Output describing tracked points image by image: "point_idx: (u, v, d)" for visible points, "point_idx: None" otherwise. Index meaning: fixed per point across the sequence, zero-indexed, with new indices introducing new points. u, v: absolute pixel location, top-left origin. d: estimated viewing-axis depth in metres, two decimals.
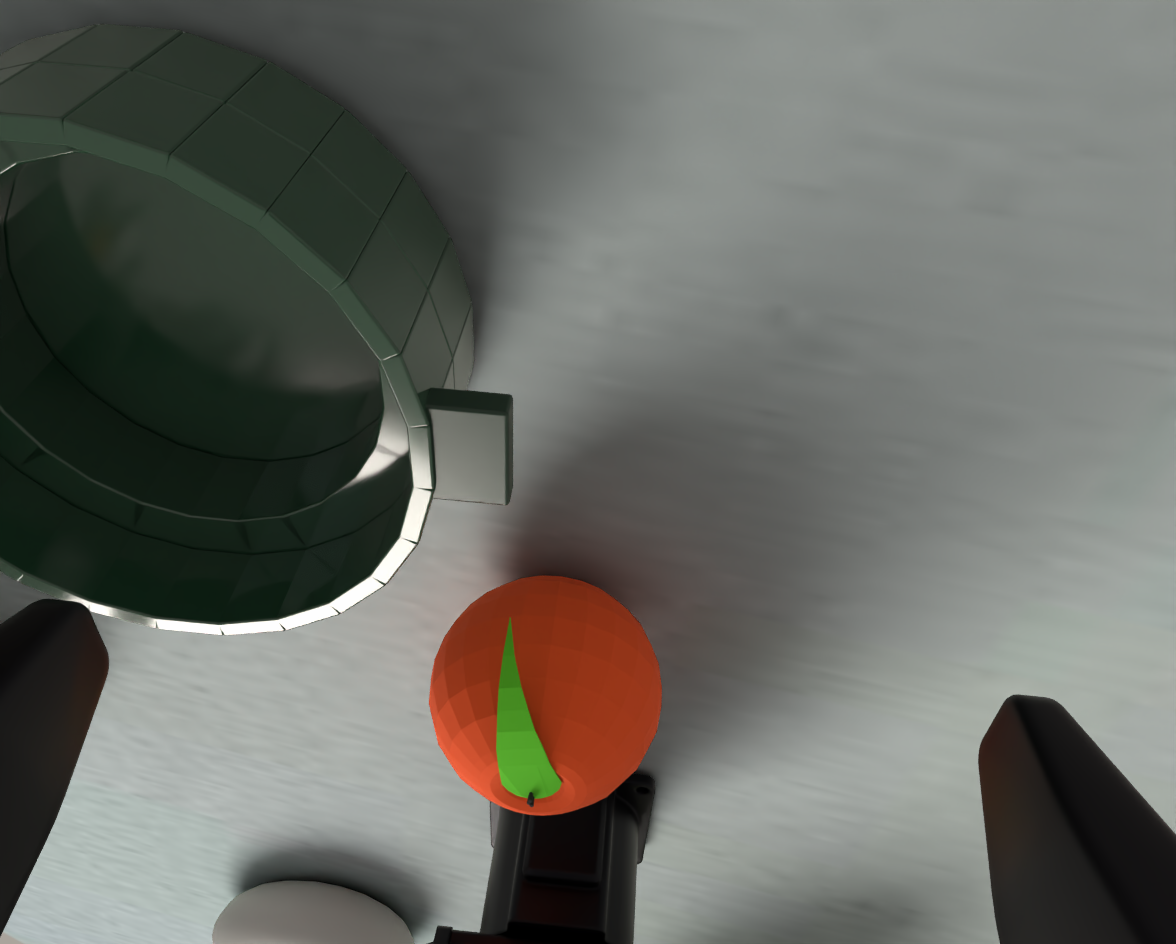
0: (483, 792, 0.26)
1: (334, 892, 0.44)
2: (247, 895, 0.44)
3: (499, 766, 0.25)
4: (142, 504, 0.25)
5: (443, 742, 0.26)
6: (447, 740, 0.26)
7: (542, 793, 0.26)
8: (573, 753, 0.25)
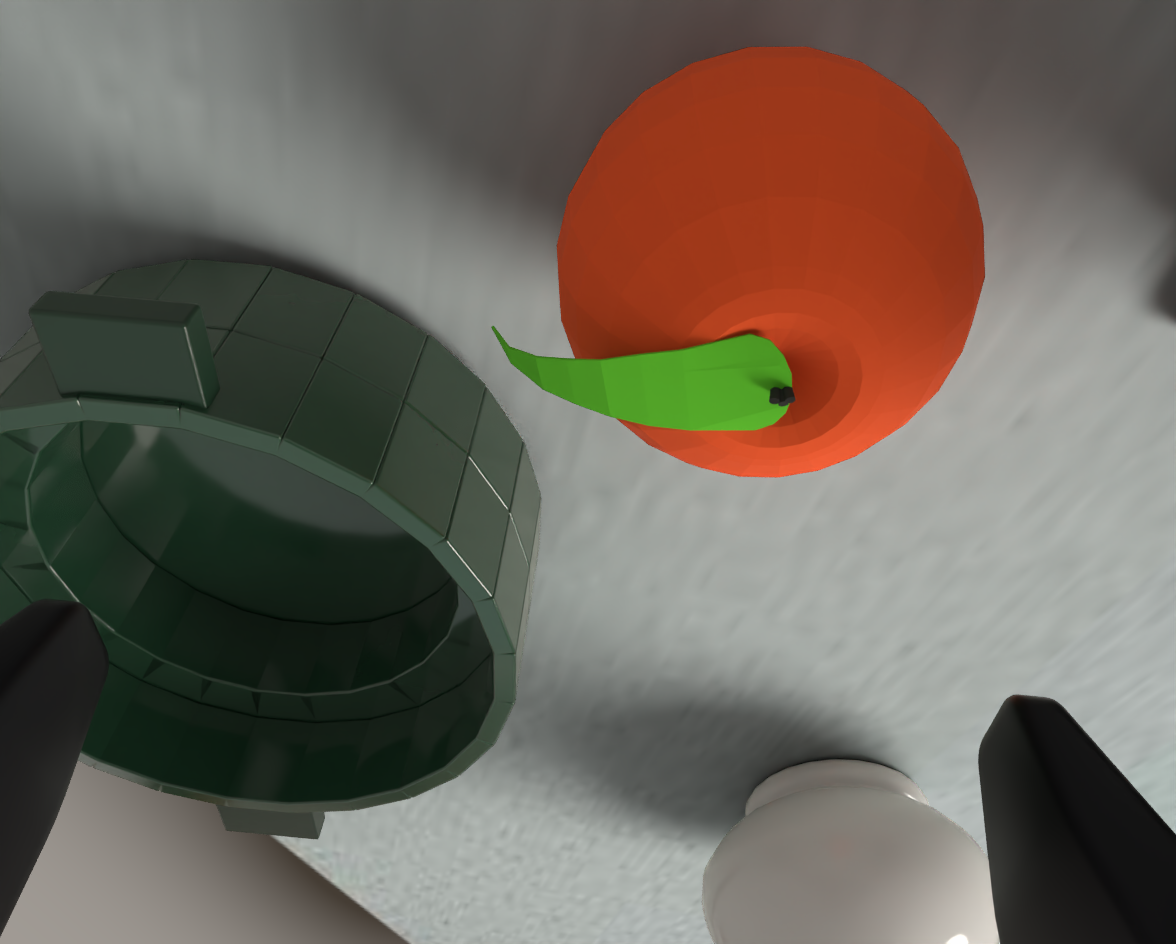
0: (797, 457, 0.14)
1: None
2: None
3: (695, 428, 0.14)
4: (449, 635, 0.23)
5: None
6: (716, 470, 0.16)
7: (775, 371, 0.13)
8: (681, 300, 0.13)
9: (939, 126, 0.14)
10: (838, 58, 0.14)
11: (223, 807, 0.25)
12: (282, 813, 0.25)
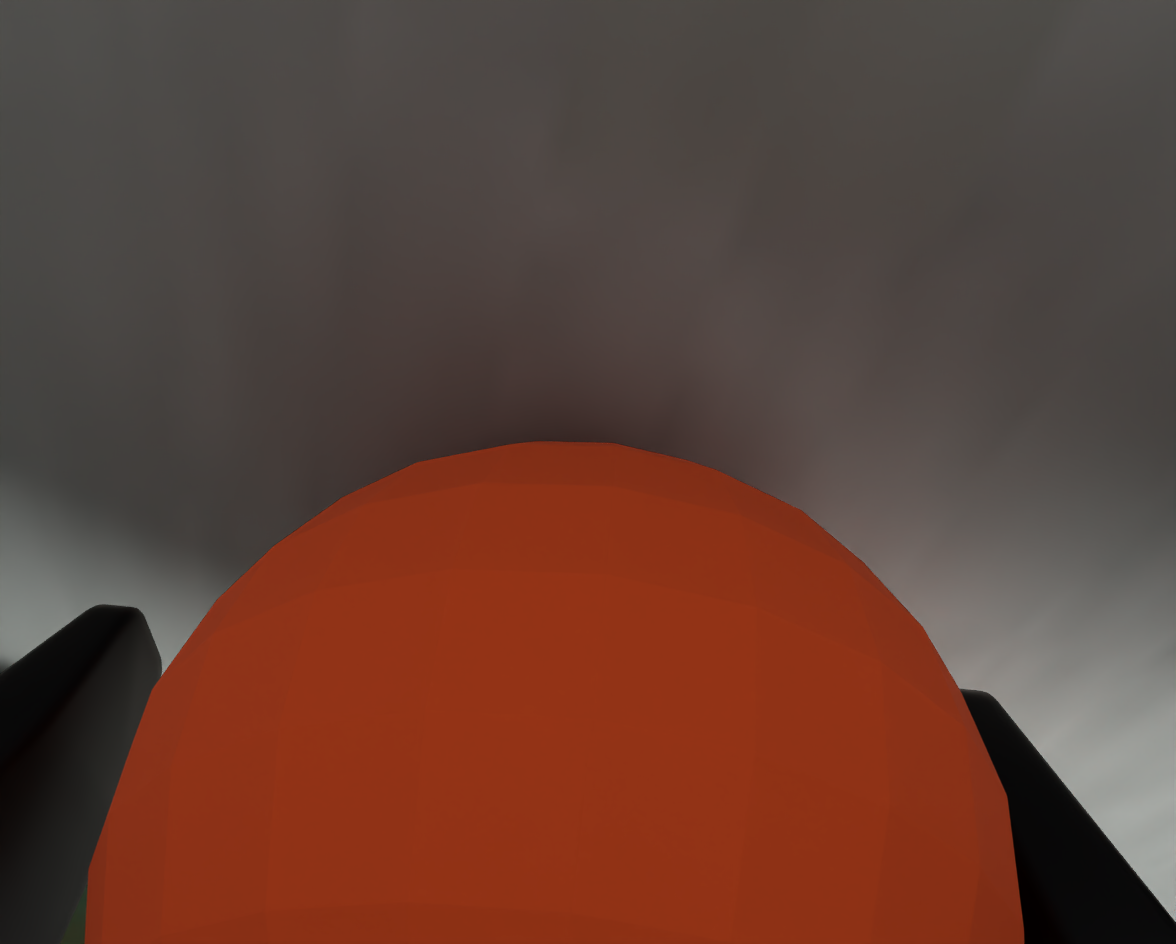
0: None
1: None
2: None
3: None
4: None
5: None
6: None
7: None
8: None
9: (919, 706, 0.06)
10: (679, 534, 0.06)
11: None
12: None
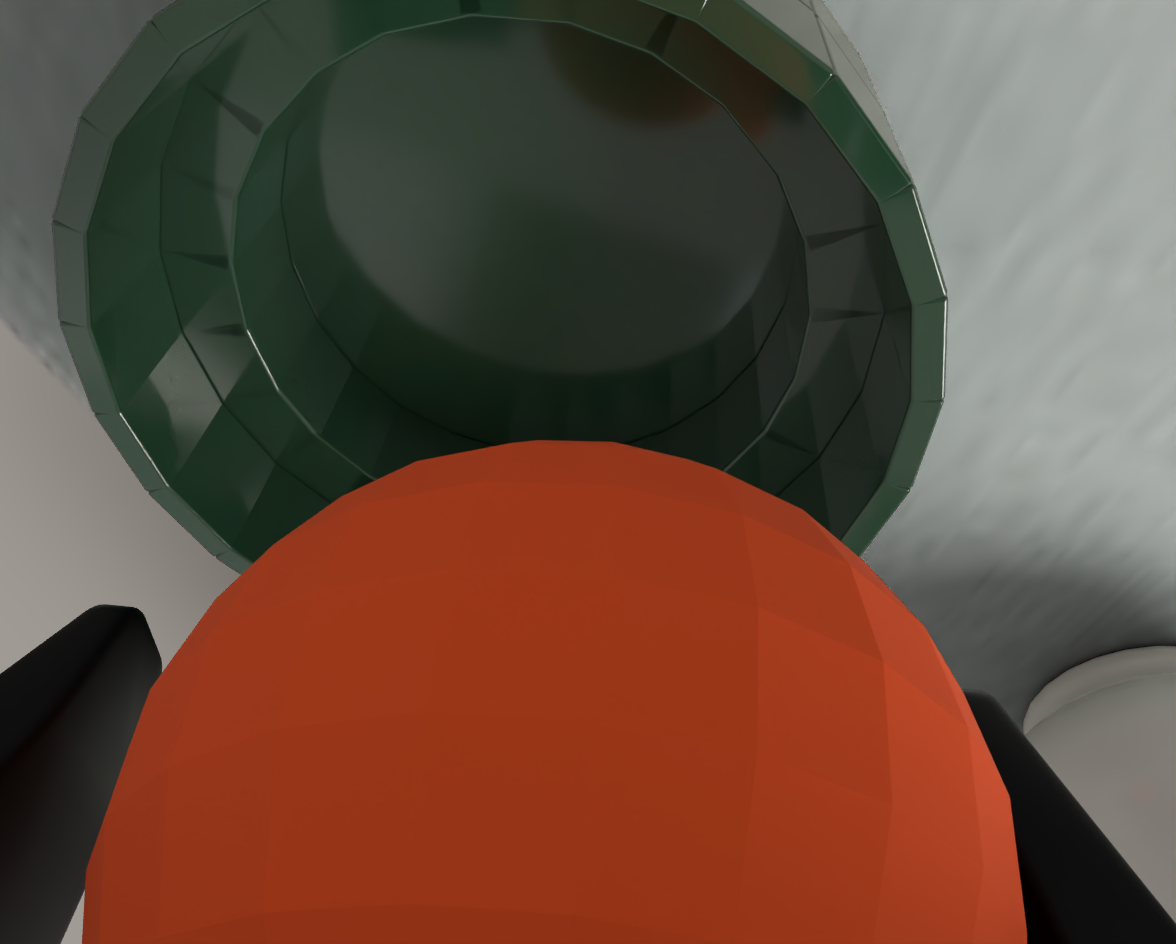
0: None
1: None
2: None
3: None
4: (768, 430, 0.18)
5: None
6: None
7: None
8: None
9: (921, 706, 0.06)
10: (680, 533, 0.06)
11: None
12: None
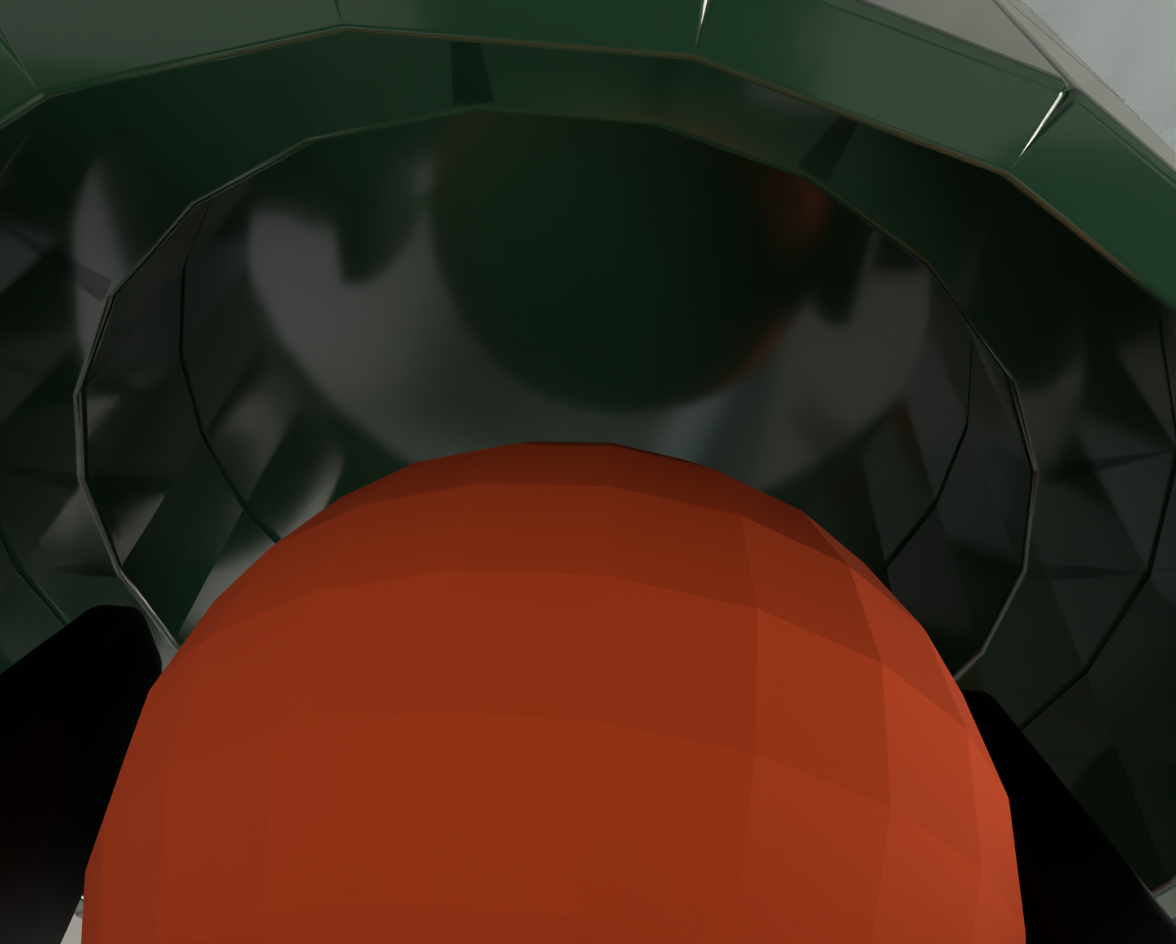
0: None
1: None
2: None
3: None
4: None
5: None
6: None
7: None
8: None
9: (920, 707, 0.06)
10: (679, 534, 0.06)
11: None
12: None
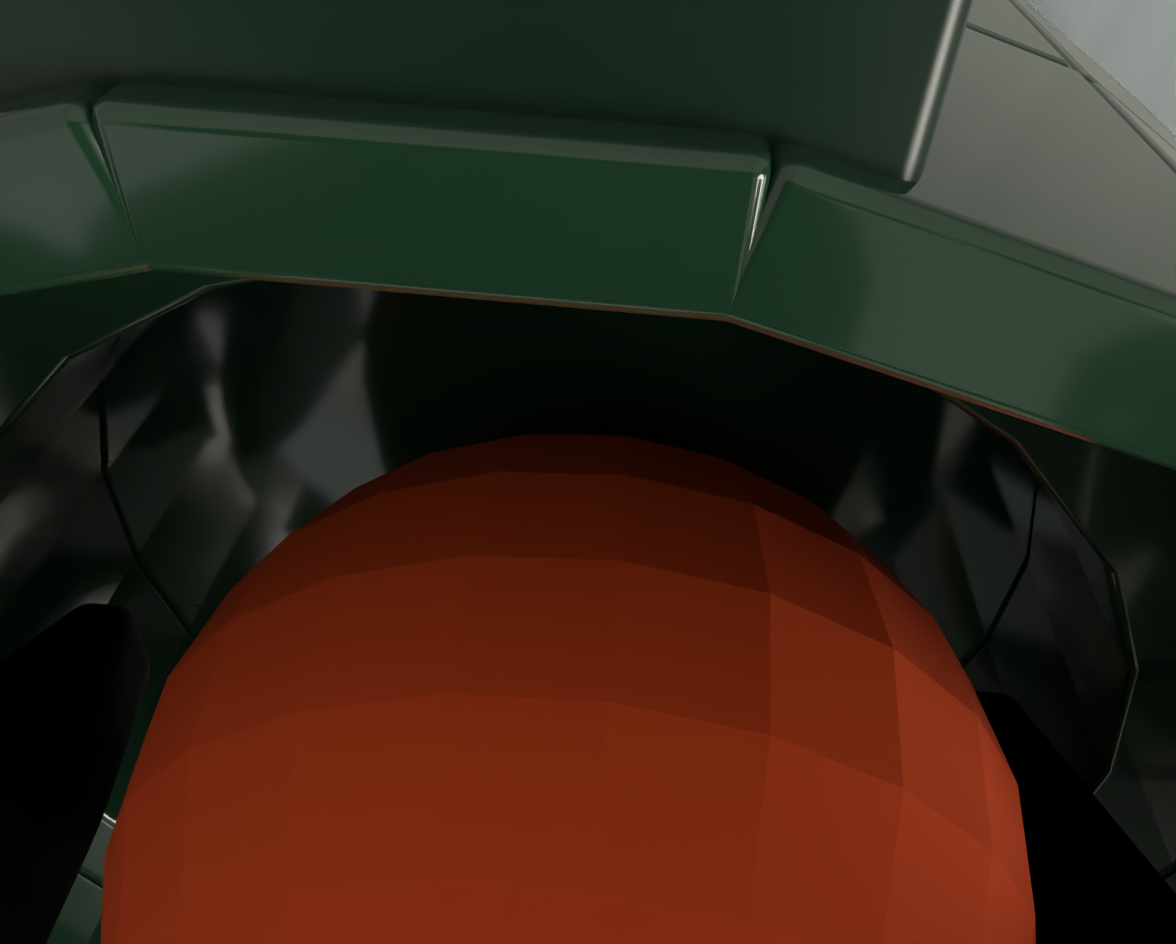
0: None
1: None
2: None
3: None
4: None
5: None
6: None
7: None
8: None
9: (931, 692, 0.06)
10: (692, 521, 0.06)
11: None
12: None
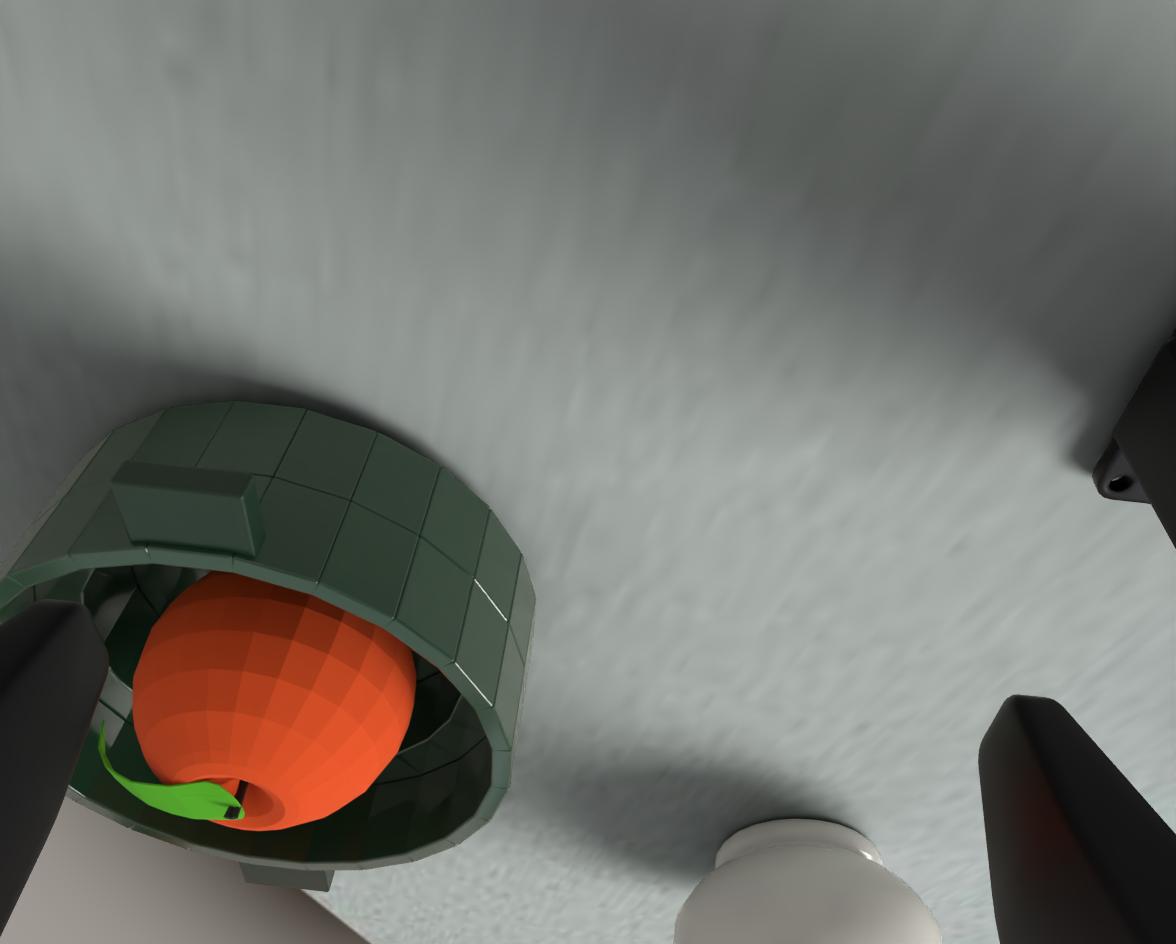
0: None
1: None
2: None
3: (197, 817, 0.22)
4: (452, 718, 0.26)
5: None
6: None
7: (227, 800, 0.22)
8: (167, 758, 0.21)
9: (352, 633, 0.22)
10: None
11: (245, 863, 0.28)
12: (297, 869, 0.28)
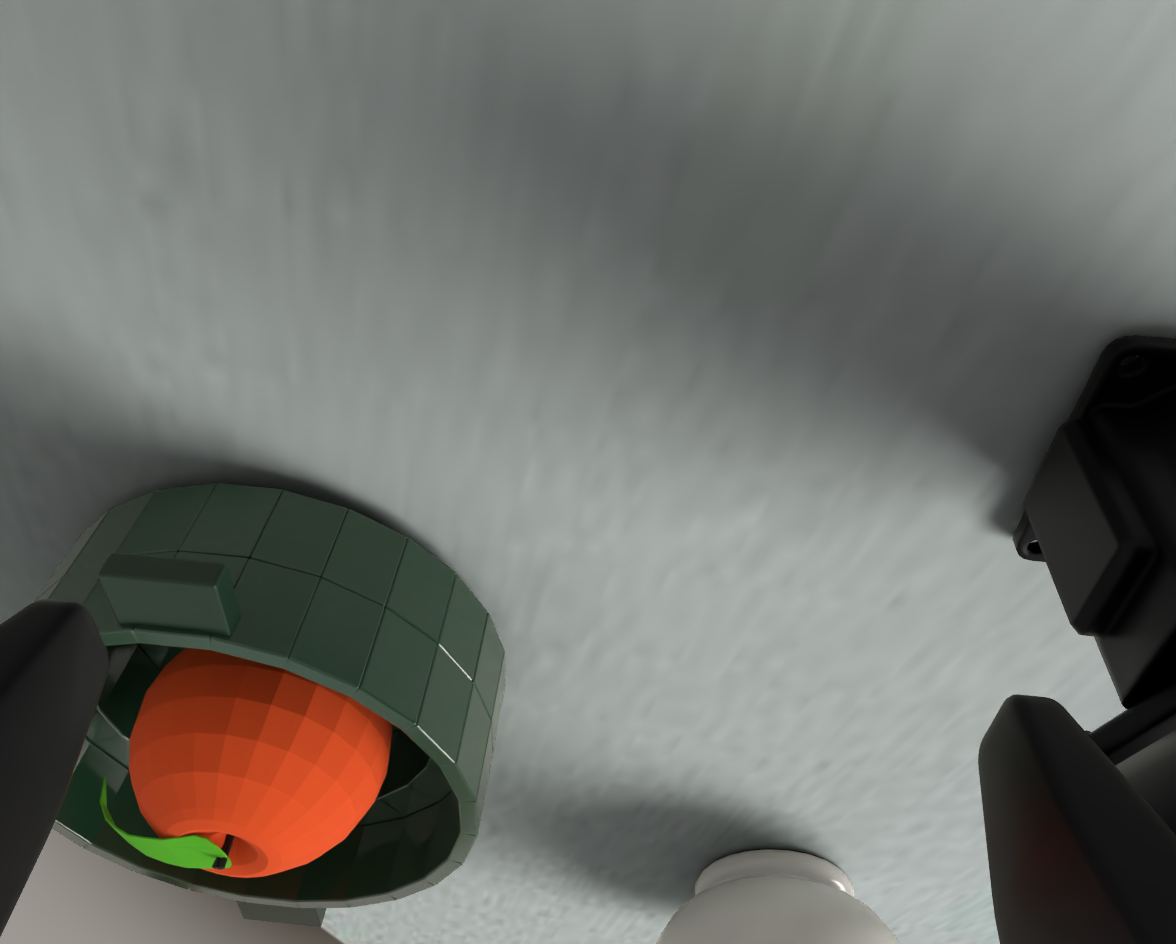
0: (255, 876, 0.25)
1: None
2: None
3: (189, 866, 0.24)
4: (428, 766, 0.28)
5: None
6: None
7: (214, 851, 0.24)
8: (159, 814, 0.23)
9: (327, 695, 0.24)
10: None
11: None
12: (290, 907, 0.30)
